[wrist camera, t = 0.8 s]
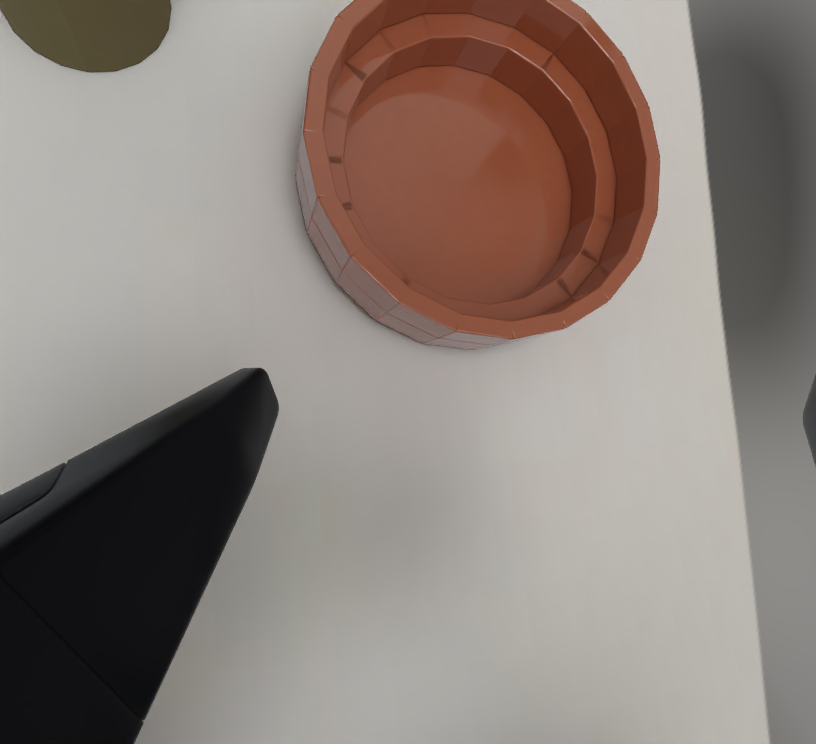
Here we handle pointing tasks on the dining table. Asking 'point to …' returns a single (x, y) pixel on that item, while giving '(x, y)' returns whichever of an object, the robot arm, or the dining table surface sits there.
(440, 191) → the bowl
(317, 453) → the dining table surface
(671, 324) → the dining table surface
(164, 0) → the olive game pawn
